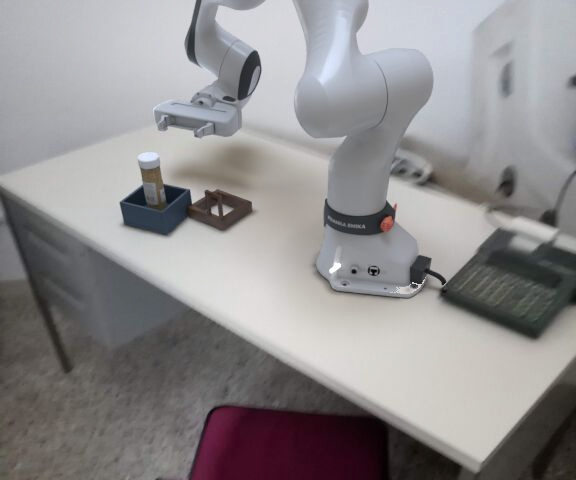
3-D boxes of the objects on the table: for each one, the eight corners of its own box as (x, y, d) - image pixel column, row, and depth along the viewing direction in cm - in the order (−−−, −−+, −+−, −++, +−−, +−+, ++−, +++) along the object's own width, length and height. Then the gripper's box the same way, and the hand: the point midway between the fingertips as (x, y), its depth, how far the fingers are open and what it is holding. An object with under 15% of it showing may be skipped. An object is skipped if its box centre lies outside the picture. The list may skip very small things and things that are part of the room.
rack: (252, 211, 137) (250, 178, 131) (223, 231, 131) (219, 197, 126) (218, 198, 141) (215, 166, 136) (188, 216, 136) (183, 183, 130)
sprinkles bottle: (172, 213, 135) (163, 155, 125) (156, 221, 132) (145, 162, 123) (160, 206, 137) (150, 149, 127) (144, 213, 135) (132, 155, 125)
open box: (193, 211, 137) (190, 189, 133) (166, 235, 130) (162, 212, 126) (152, 202, 141) (148, 179, 137) (124, 224, 133) (119, 202, 129)
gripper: (170, 88, 142) (136, 109, 133) (246, 101, 136) (216, 123, 127) (173, 116, 146) (141, 137, 137) (247, 129, 140) (219, 152, 131)
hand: (178, 131), depth 132 cm, fingers open, 8 cm apart
